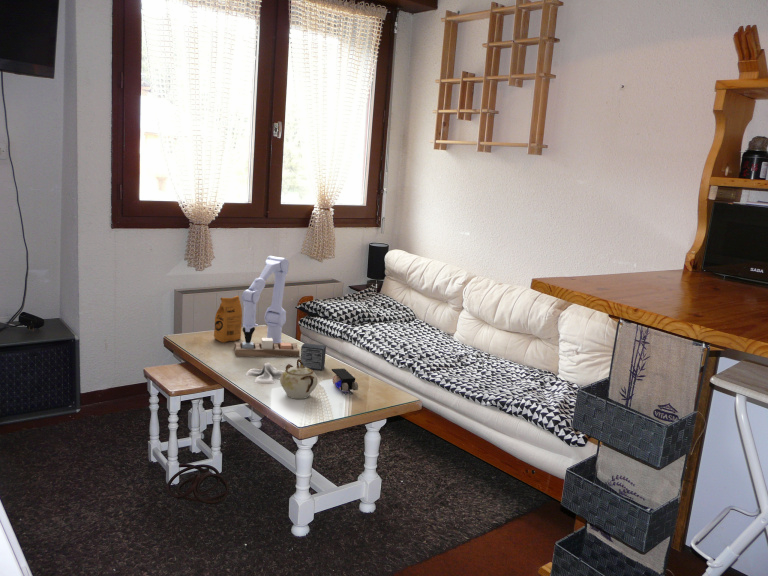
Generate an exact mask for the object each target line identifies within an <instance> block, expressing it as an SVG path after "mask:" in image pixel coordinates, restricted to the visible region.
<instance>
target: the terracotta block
mask: <svg viewBox="0 0 768 576" xmlns="http://www.w3.org/2000/svg"><path fill="white" fill-rule="evenodd" d="M291 343H292V342H282V343H280V349H291V348H292V345H291Z"/></svg>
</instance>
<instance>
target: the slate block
mask: <svg viewBox="0 0 768 576" xmlns="http://www.w3.org/2000/svg"><path fill="white" fill-rule="evenodd" d="M253 343H254V341H251V342H250V343H246V342H245V341H242V348H250V349H253V347H254V344H253Z"/></svg>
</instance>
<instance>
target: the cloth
mask: <svg viewBox="0 0 768 576" xmlns="http://www.w3.org/2000/svg"><path fill="white" fill-rule="evenodd" d="M284 371H285V370H280V369H277V367H274V366H272V365H271V363H270V362H265V363H264V364H263V366H262V368H261V369H259V368H251V369H248V371H246V373H245V376H247V377H249V376H254V377H255V380H254V383H255V384H277V383H276V381H275V380H274V379H275V378H276V379H277V380H278V381H280V377H281V375H282V373H283V372H284Z"/></svg>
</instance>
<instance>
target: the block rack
mask: <svg viewBox="0 0 768 576" xmlns="http://www.w3.org/2000/svg"><path fill="white" fill-rule="evenodd" d="M242 342H243V341H242ZM242 342H240V341H238V342H237V341H234V348H233V349H234V356H235V357H241V356H243V357H245V356H247V357H289V356H290V357H296V358H297V357H300V354H301V350H300V349H299V348H298V344H297V343H294V342H293V343H292V342H290V343H291V345H292V348H291V349H280V343H273V349H262V347H261V342H253V344H254V347H253V349H250V348H242Z"/></svg>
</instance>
